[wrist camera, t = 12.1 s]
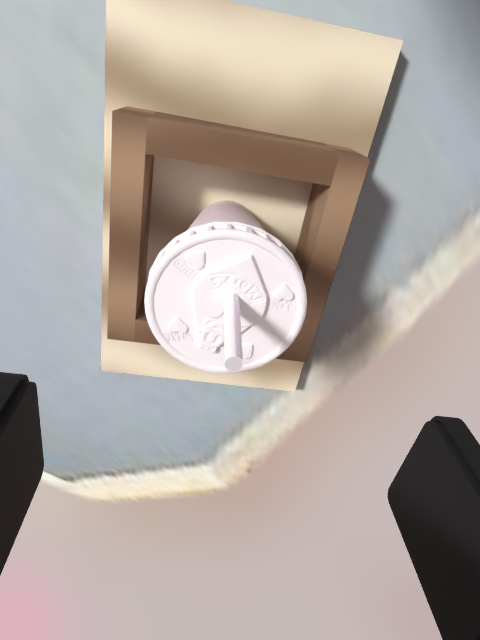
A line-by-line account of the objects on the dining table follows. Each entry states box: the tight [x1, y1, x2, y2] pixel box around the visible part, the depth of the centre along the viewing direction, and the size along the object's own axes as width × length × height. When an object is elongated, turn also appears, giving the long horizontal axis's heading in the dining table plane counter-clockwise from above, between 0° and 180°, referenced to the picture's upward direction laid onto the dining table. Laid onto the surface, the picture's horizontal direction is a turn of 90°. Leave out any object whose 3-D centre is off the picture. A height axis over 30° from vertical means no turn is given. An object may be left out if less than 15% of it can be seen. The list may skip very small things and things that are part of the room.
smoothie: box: [144, 200, 307, 374], centre depth 18 cm, size 6×6×14 cm
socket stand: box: [101, 0, 403, 392], centre depth 24 cm, size 22×14×5 cm, turn 170°
